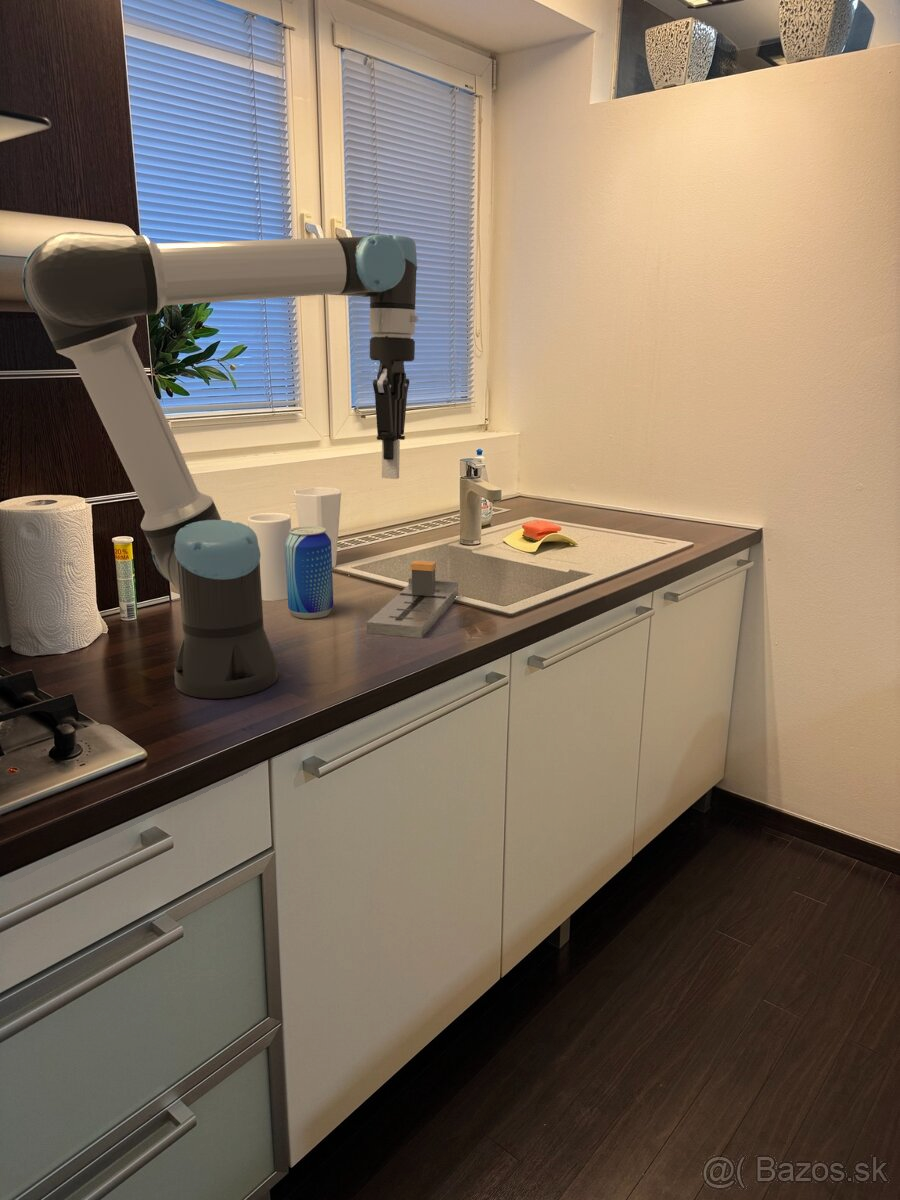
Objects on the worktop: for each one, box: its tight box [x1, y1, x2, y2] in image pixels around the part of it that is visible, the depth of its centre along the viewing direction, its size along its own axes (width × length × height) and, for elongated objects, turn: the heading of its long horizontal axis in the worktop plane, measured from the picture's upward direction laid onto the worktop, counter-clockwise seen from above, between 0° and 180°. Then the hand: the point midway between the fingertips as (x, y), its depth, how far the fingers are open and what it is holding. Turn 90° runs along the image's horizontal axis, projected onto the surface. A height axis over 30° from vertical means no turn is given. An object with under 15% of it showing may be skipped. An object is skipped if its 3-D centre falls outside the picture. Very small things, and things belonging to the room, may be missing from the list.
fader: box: [410, 560, 437, 596], centre depth 166 cm, size 3×4×6 cm, turn 75°
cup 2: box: [293, 486, 342, 569], centre depth 193 cm, size 11×10×17 cm
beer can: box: [285, 526, 334, 620], centre depth 160 cm, size 8×8×16 cm
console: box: [366, 576, 459, 639], centre depth 162 cm, size 26×10×3 cm, turn 165°
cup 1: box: [247, 512, 292, 602], centre depth 171 cm, size 8×8×16 cm
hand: (390, 477), depth 150 cm, fingers closed
